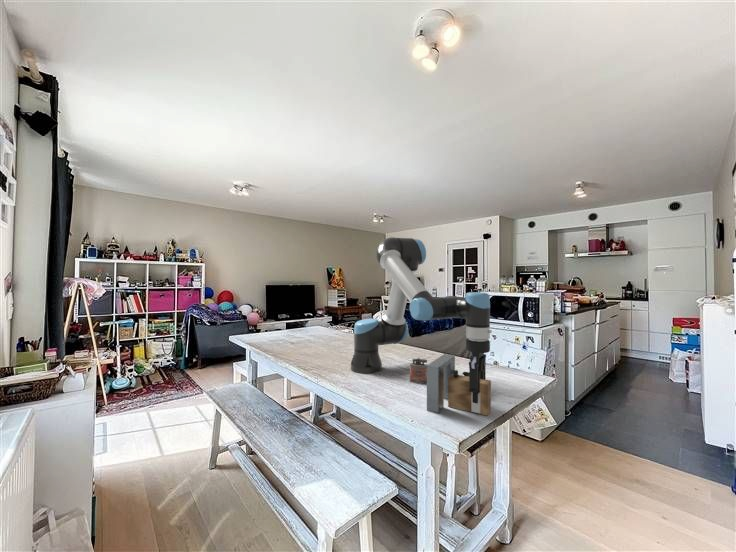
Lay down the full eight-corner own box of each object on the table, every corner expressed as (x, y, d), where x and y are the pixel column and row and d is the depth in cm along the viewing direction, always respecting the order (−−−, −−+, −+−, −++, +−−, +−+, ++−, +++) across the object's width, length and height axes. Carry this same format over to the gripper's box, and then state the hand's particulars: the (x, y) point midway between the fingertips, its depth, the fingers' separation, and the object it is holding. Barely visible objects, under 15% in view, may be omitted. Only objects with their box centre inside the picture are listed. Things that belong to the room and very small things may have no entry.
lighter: (408, 382, 131) (408, 358, 130) (410, 379, 134) (410, 356, 134) (427, 384, 128) (427, 360, 127) (429, 382, 131) (429, 358, 131)
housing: (425, 410, 104) (425, 365, 104) (443, 392, 119) (443, 353, 119) (438, 413, 101) (438, 367, 101) (454, 395, 116) (454, 355, 116)
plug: (448, 406, 106) (448, 371, 106) (452, 401, 110) (452, 368, 110) (487, 415, 99) (487, 378, 99) (490, 410, 103) (490, 374, 103)
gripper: (483, 345, 94) (483, 422, 94) (494, 335, 108) (494, 402, 109) (458, 342, 98) (458, 416, 98) (472, 333, 112) (473, 397, 113)
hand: (477, 408), depth 103 cm, fingers closed on plug, 4 cm apart
